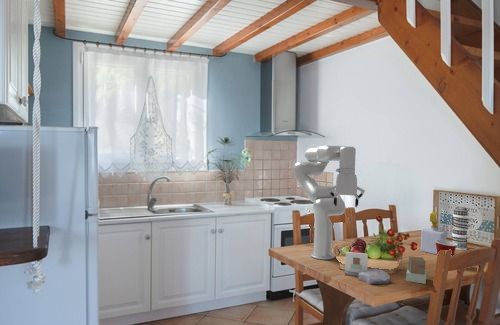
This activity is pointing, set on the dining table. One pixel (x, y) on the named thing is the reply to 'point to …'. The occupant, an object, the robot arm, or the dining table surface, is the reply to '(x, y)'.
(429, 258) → the dining table surface
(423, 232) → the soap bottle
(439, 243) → the plastic cup
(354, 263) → the picture card
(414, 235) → the dining table surface
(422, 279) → the sage block
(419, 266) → the walnut block
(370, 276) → the stone block
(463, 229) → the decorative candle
